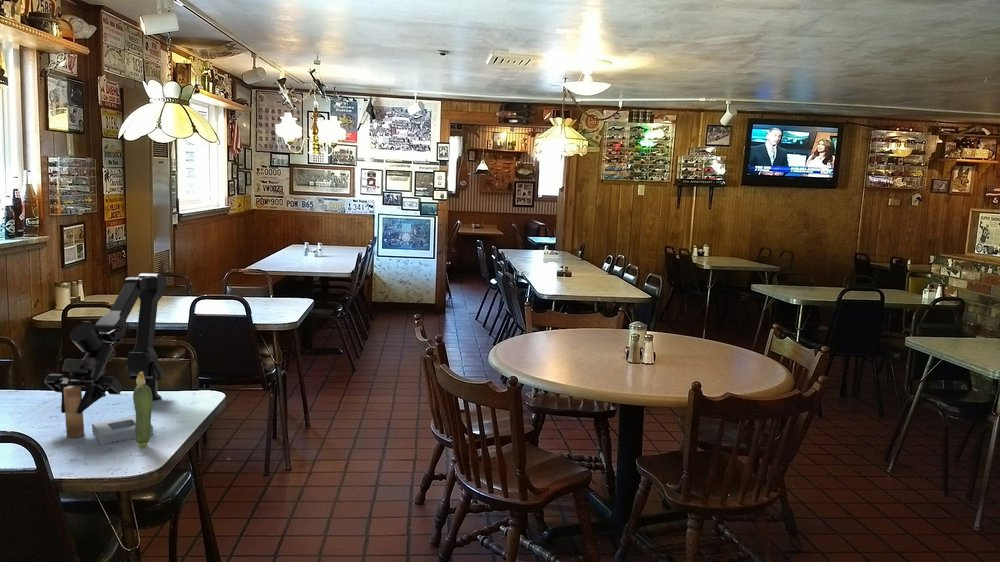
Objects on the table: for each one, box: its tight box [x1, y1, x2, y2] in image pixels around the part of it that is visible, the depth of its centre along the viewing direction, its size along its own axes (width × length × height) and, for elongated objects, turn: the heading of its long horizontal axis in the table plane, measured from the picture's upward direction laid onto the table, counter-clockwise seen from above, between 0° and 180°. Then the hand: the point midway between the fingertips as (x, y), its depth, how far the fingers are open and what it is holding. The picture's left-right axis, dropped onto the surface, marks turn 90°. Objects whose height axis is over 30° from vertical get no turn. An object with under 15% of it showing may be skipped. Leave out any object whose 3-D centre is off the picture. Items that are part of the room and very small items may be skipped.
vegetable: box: [132, 371, 154, 449], centre depth 180 cm, size 4×4×20 cm
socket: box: [91, 414, 154, 445], centre depth 190 cm, size 12×12×2 cm
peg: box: [64, 385, 85, 439], centre depth 187 cm, size 4×4×13 cm
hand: (70, 412), depth 186 cm, fingers closed on peg, 4 cm apart
